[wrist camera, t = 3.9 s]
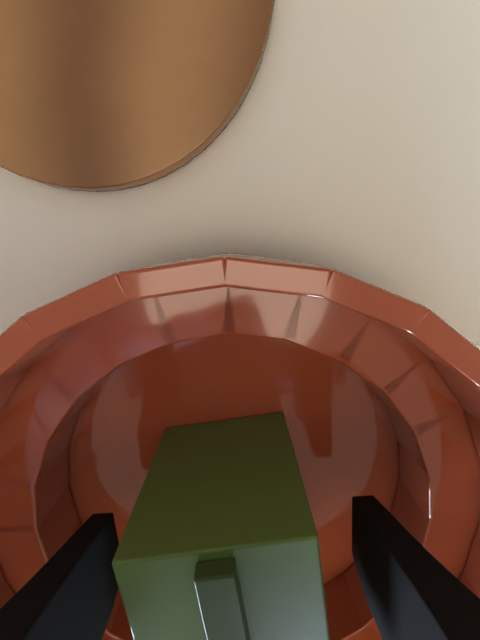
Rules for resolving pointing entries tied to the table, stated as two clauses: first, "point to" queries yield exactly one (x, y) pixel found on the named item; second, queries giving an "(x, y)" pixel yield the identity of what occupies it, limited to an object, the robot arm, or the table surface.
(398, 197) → the table surface
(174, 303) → the bowl
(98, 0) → the coaster
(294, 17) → the table surface
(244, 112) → the table surface
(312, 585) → the green grooved block
